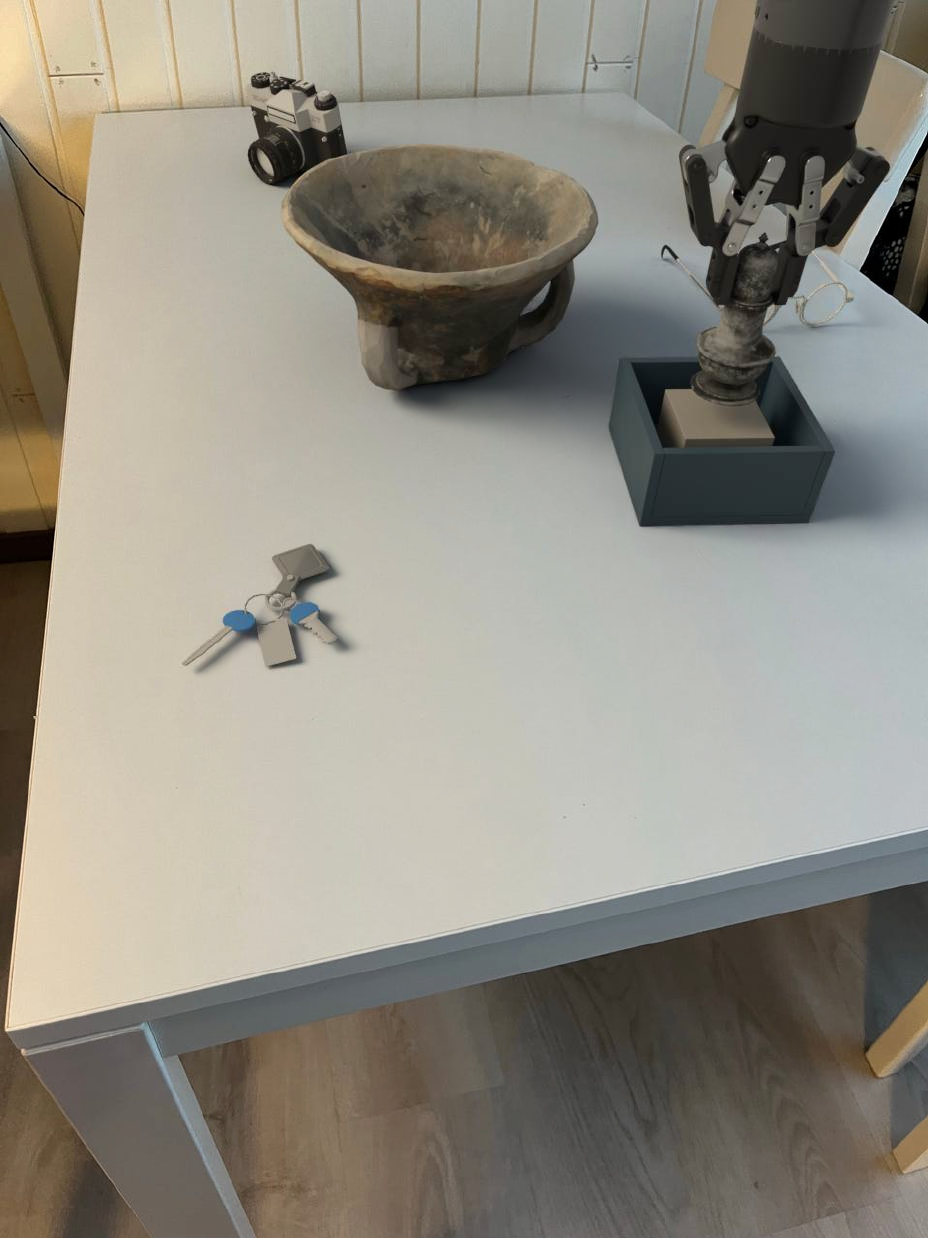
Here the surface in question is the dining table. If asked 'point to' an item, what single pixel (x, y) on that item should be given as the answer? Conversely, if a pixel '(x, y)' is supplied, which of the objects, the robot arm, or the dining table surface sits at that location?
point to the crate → (716, 453)
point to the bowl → (442, 253)
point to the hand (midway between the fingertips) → (748, 299)
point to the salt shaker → (739, 333)
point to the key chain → (279, 610)
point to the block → (710, 423)
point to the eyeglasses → (801, 304)
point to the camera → (292, 126)
